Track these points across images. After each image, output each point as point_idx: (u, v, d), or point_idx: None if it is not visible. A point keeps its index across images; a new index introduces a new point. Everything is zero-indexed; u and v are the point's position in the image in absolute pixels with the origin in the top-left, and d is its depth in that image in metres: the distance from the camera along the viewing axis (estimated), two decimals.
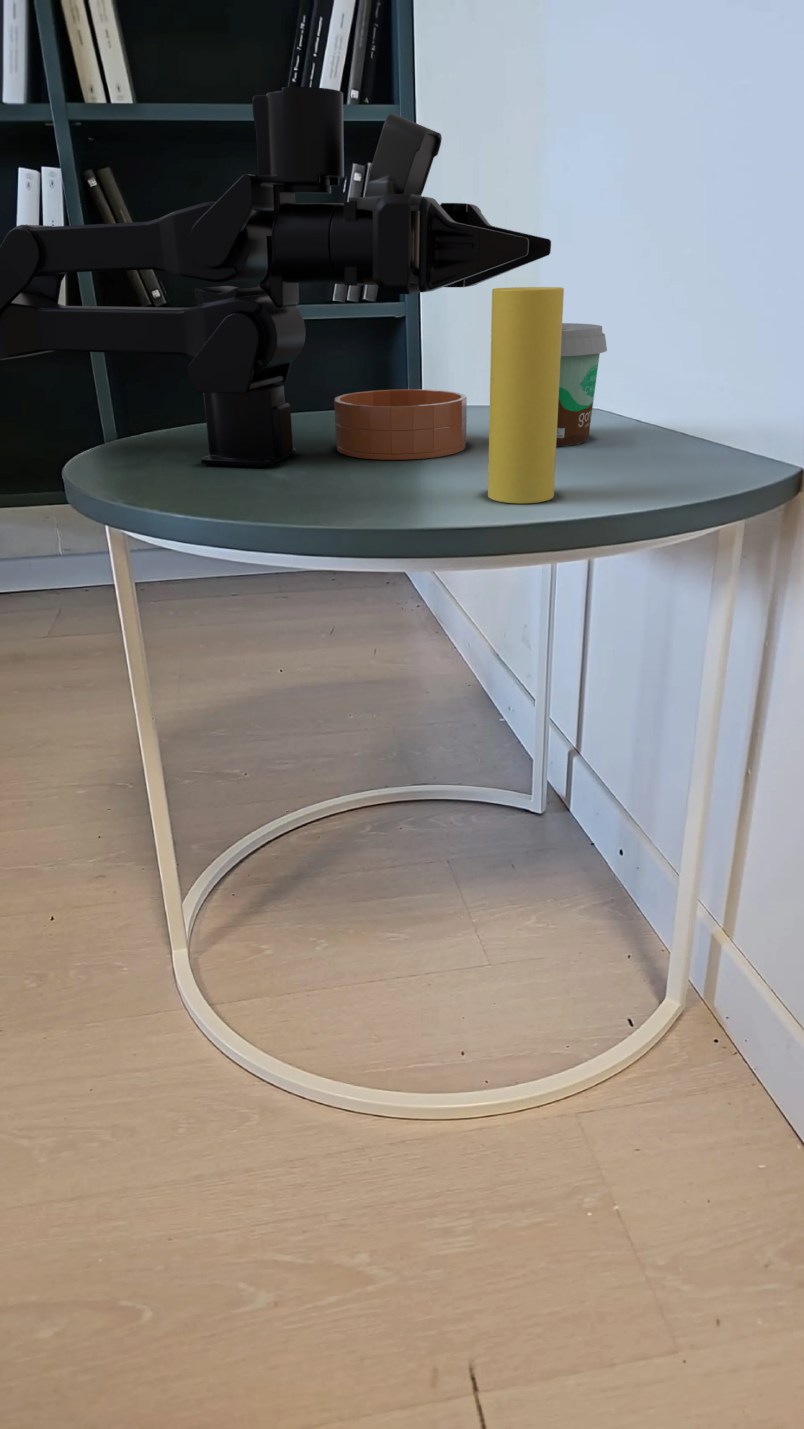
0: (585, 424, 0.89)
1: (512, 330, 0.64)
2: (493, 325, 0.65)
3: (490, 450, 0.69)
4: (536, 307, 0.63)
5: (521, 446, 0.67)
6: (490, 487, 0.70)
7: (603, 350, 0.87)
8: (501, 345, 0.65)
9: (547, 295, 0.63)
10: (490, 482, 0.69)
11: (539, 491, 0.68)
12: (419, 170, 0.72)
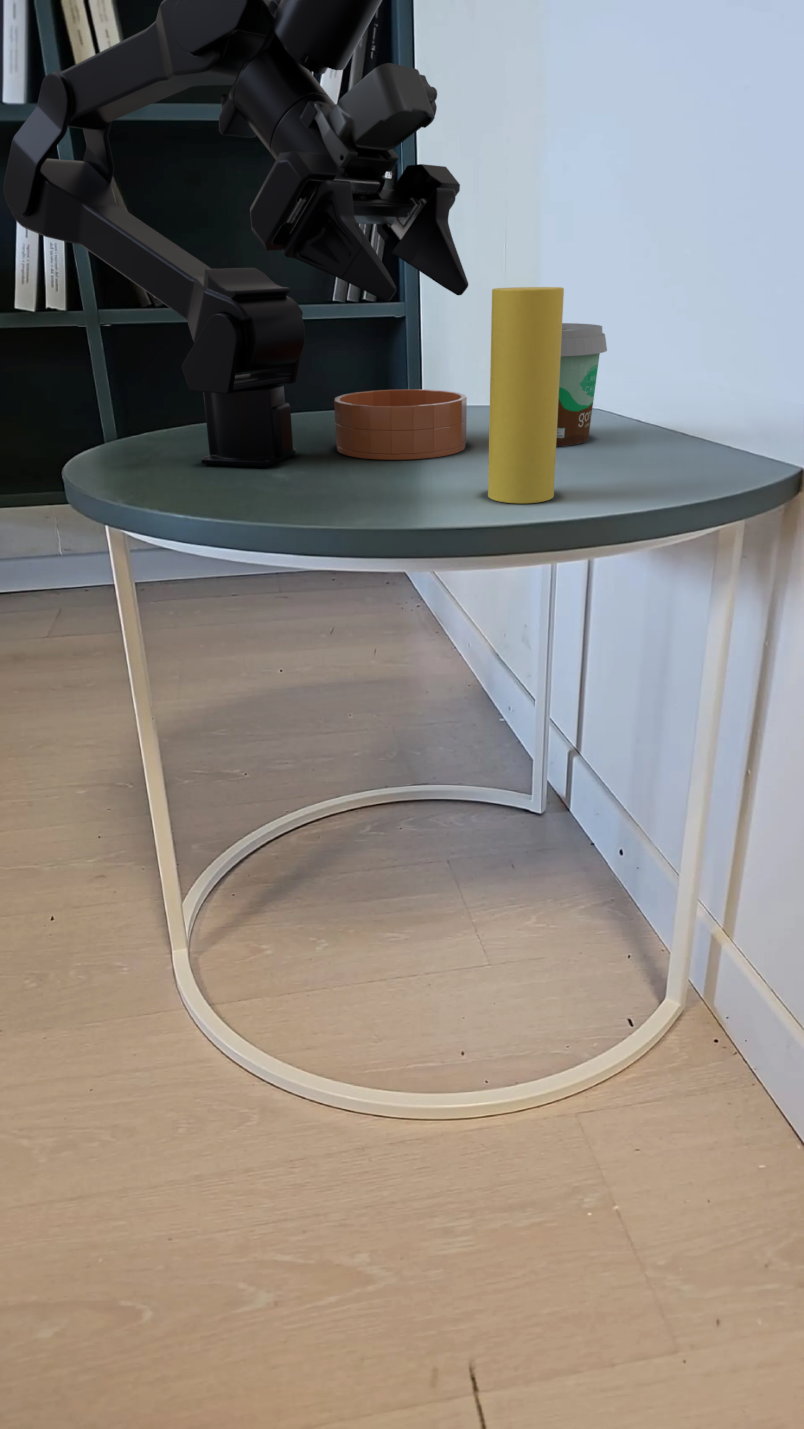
0: (585, 424, 0.89)
1: (512, 330, 0.64)
2: (493, 325, 0.65)
3: (490, 450, 0.69)
4: (536, 307, 0.63)
5: (521, 446, 0.67)
6: (490, 487, 0.70)
7: (603, 350, 0.87)
8: (501, 345, 0.65)
9: (547, 295, 0.63)
10: (490, 482, 0.69)
11: (539, 491, 0.68)
12: (391, 131, 0.67)
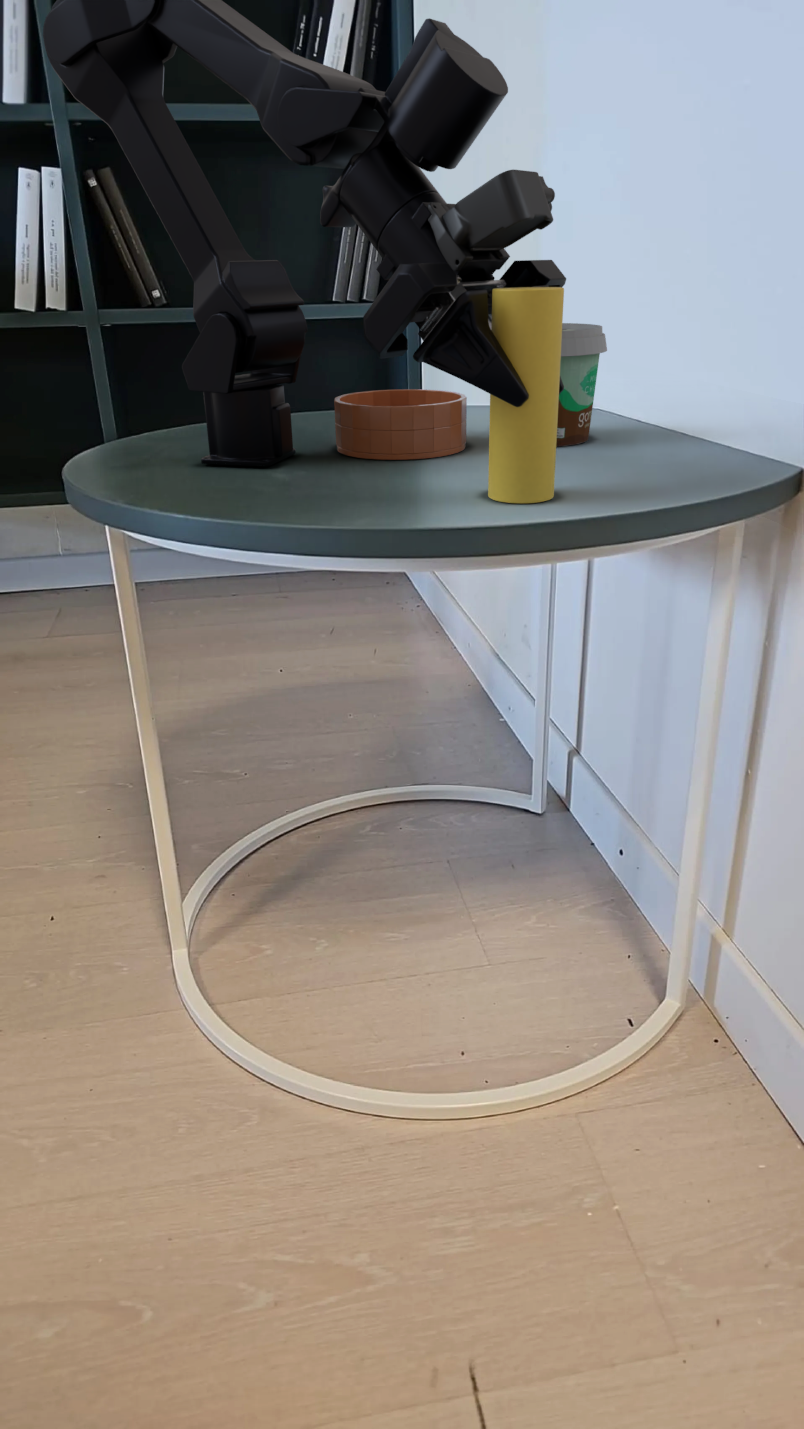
0: (585, 424, 0.89)
1: (512, 330, 0.64)
2: (493, 325, 0.65)
3: (490, 450, 0.69)
4: (537, 307, 0.63)
5: (521, 446, 0.67)
6: (490, 487, 0.70)
7: (603, 350, 0.87)
8: (501, 345, 0.65)
9: (547, 295, 0.63)
10: (490, 482, 0.69)
11: (539, 491, 0.68)
12: (507, 234, 0.64)
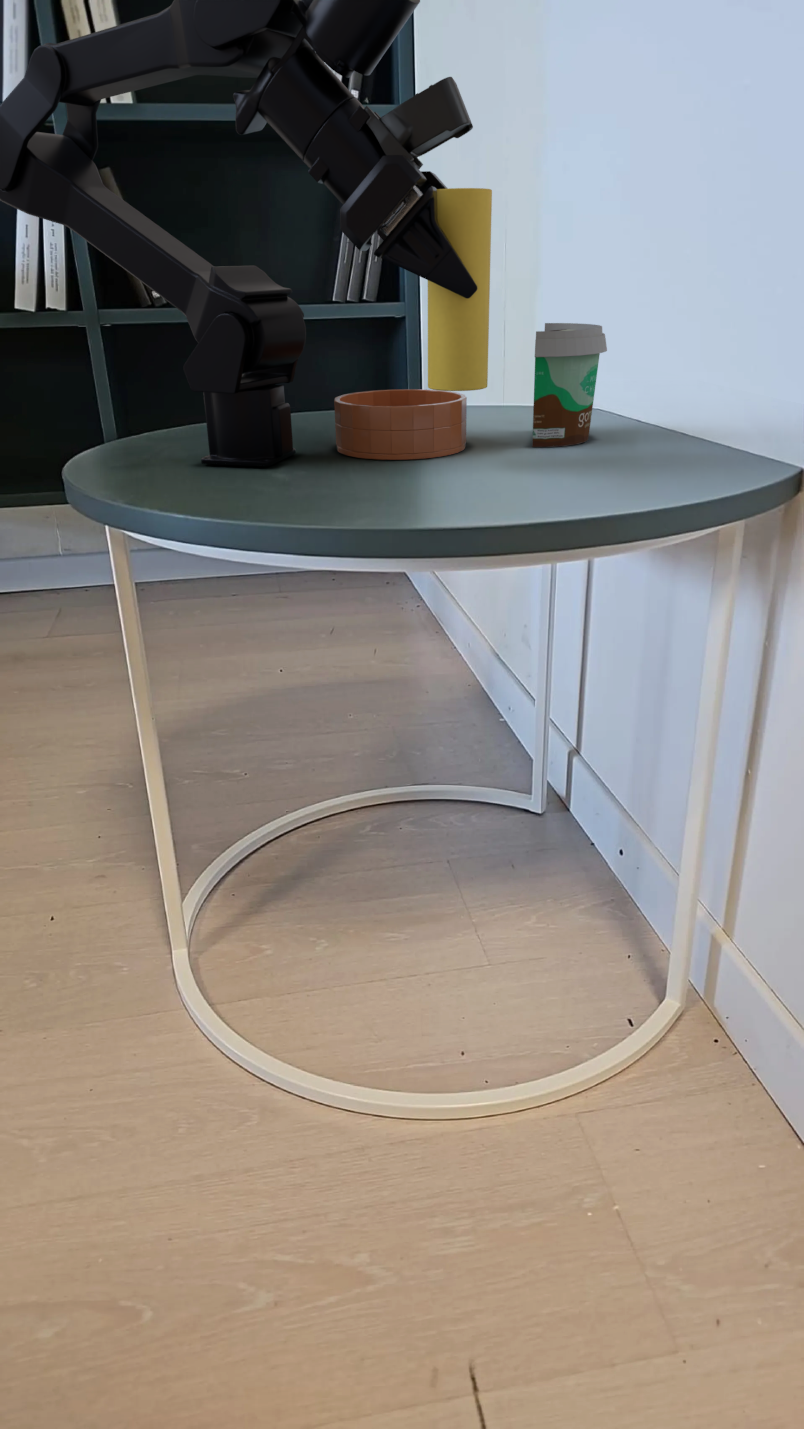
0: (585, 424, 0.89)
1: (459, 227, 0.70)
2: None
3: (435, 343, 0.75)
4: (479, 205, 0.70)
5: (469, 335, 0.74)
6: (436, 378, 0.76)
7: (603, 350, 0.87)
8: None
9: (486, 194, 0.70)
10: (436, 374, 0.76)
11: (482, 378, 0.76)
12: (436, 140, 0.70)
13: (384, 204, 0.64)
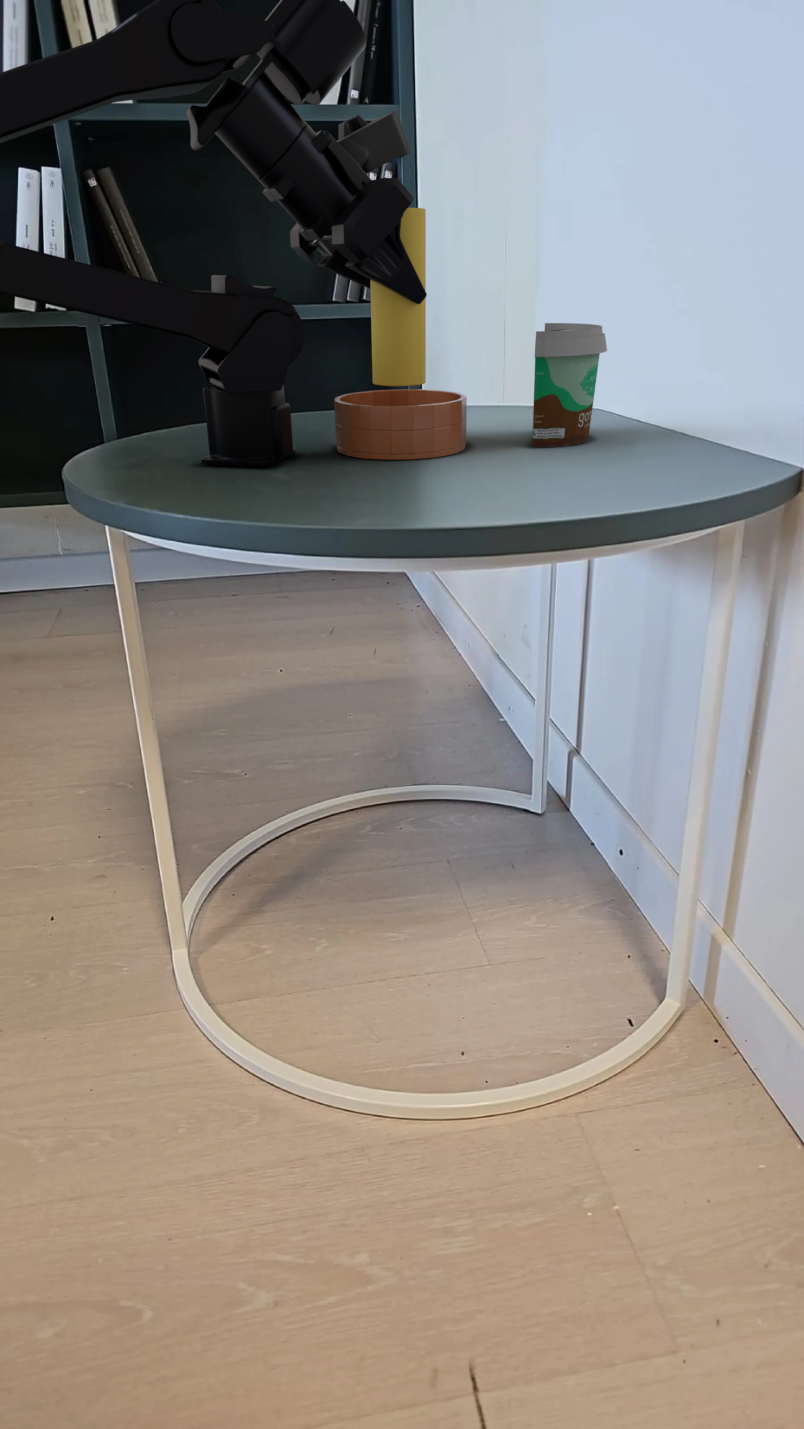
0: (585, 424, 0.89)
1: (409, 241, 0.80)
2: None
3: (388, 344, 0.84)
4: (422, 223, 0.81)
5: (418, 336, 0.84)
6: (390, 376, 0.85)
7: (603, 350, 0.87)
8: None
9: (425, 213, 0.81)
10: (389, 372, 0.85)
11: (425, 374, 0.86)
12: None
13: (385, 221, 0.72)
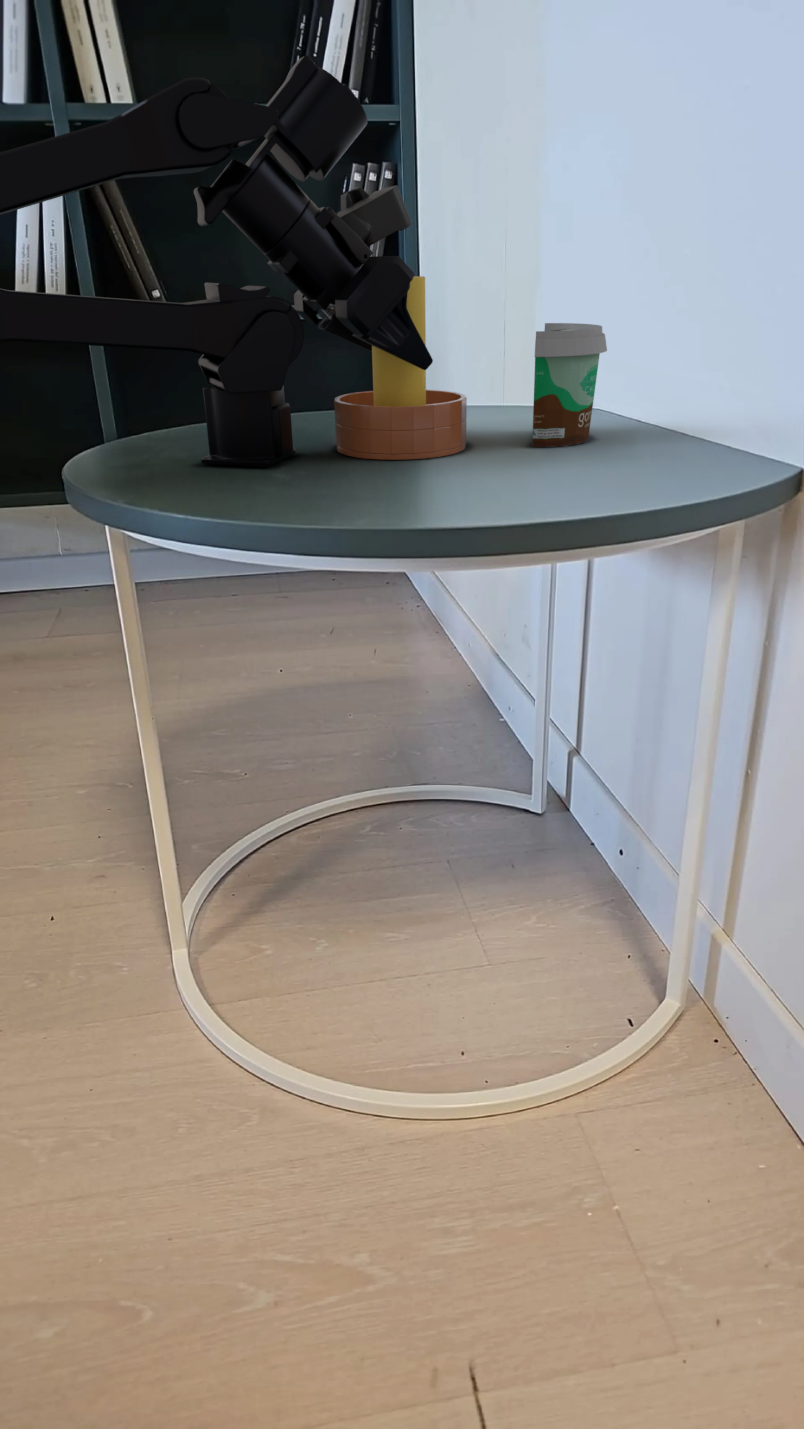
0: (585, 424, 0.89)
1: (410, 309, 0.82)
2: None
3: None
4: (422, 291, 0.83)
5: (419, 399, 0.86)
6: None
7: (603, 350, 0.87)
8: None
9: (424, 281, 0.83)
10: None
11: None
12: None
13: (387, 297, 0.75)
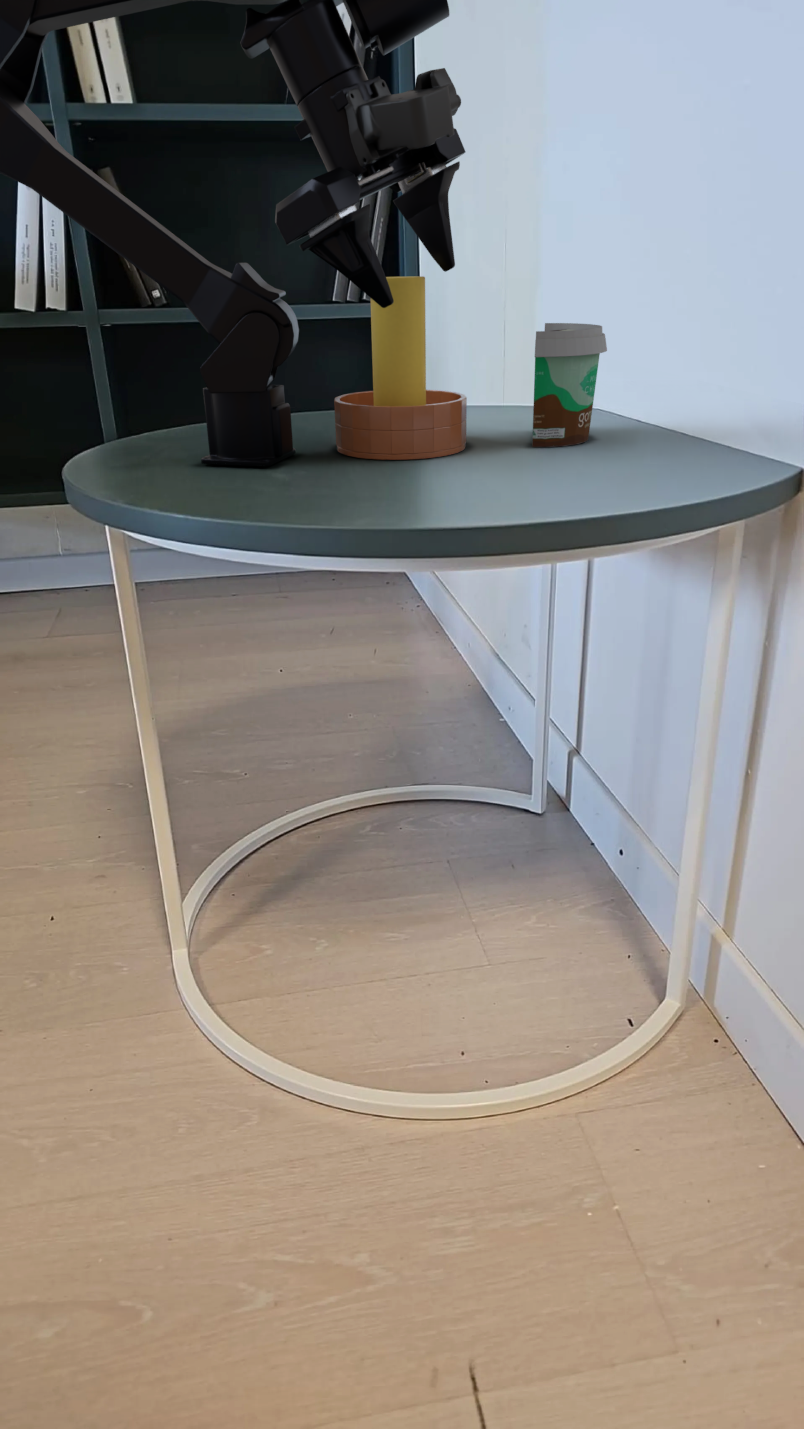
0: (585, 424, 0.89)
1: (410, 309, 0.82)
2: (388, 306, 0.82)
3: None
4: (422, 291, 0.83)
5: (419, 399, 0.86)
6: None
7: (603, 350, 0.87)
8: (400, 322, 0.83)
9: (424, 281, 0.83)
10: None
11: None
12: None
13: (305, 221, 0.71)
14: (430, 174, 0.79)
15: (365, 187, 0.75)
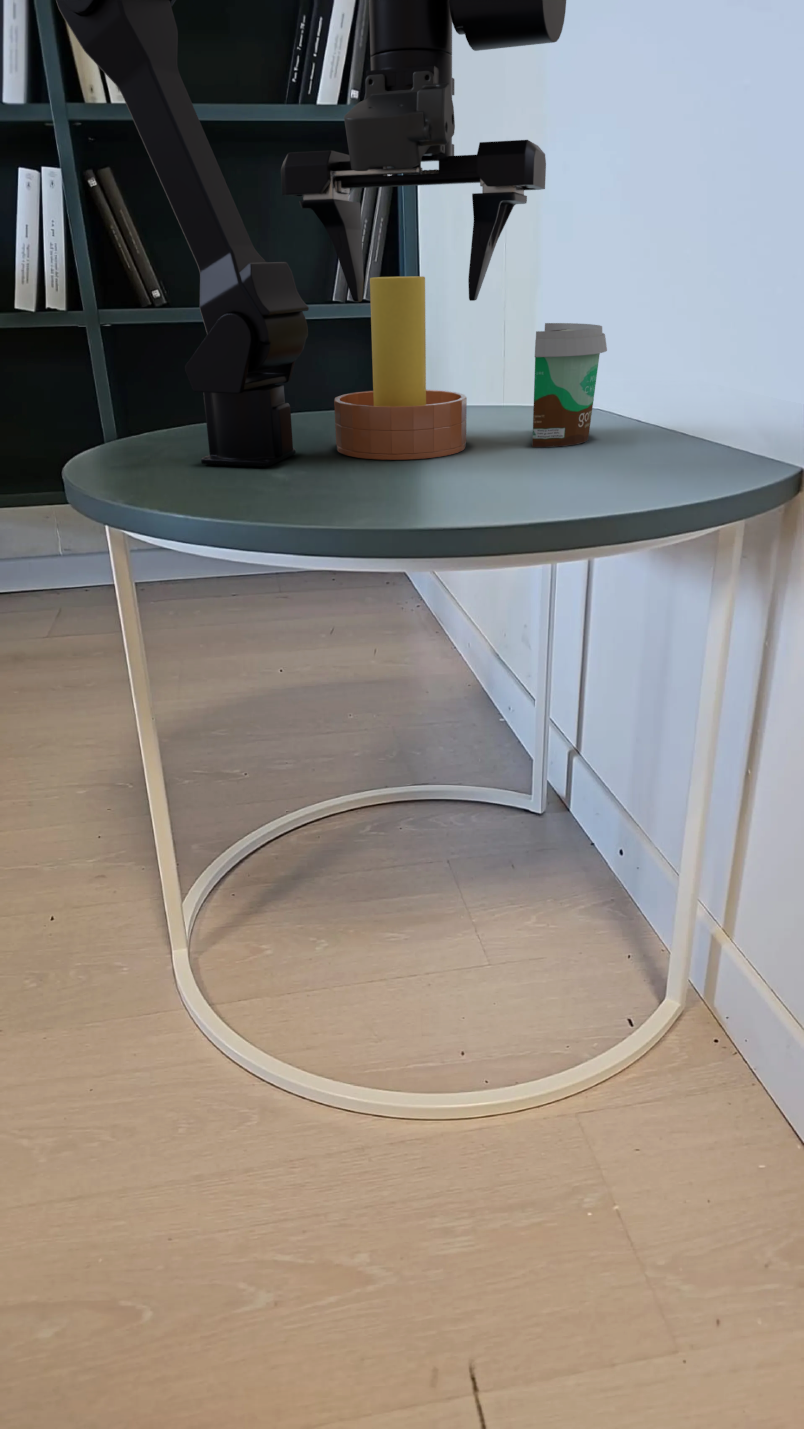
0: (585, 424, 0.89)
1: (410, 309, 0.82)
2: (388, 306, 0.82)
3: None
4: (422, 291, 0.83)
5: (419, 399, 0.86)
6: None
7: (603, 350, 0.87)
8: (400, 322, 0.83)
9: (424, 281, 0.83)
10: None
11: None
12: None
13: None
14: (482, 191, 0.68)
15: (388, 177, 0.70)
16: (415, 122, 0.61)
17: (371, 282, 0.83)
